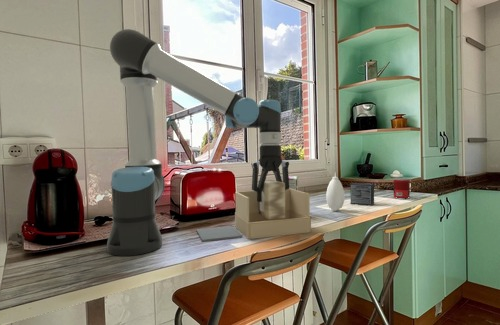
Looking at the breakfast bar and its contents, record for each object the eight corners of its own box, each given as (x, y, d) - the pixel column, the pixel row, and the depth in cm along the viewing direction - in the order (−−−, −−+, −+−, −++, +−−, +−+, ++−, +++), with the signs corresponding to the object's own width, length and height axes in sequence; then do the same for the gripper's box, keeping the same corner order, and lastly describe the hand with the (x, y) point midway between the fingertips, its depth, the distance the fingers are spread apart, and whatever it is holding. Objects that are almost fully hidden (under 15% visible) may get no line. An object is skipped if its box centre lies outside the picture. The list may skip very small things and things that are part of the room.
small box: (374, 204, 151) (374, 183, 151) (372, 206, 146) (372, 184, 146) (353, 202, 157) (353, 182, 157) (350, 204, 152) (350, 183, 151)
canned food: (412, 199, 164) (412, 179, 164) (397, 199, 164) (397, 179, 164) (405, 196, 172) (405, 177, 171) (391, 196, 172) (391, 177, 172)
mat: (202, 241, 93) (202, 239, 93) (196, 230, 105) (196, 229, 105) (242, 237, 97) (242, 235, 97) (232, 227, 109) (232, 225, 109)
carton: (248, 239, 95) (248, 198, 94) (235, 227, 110) (234, 191, 109) (311, 232, 102) (311, 194, 101) (290, 221, 117) (290, 188, 116)
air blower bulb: (337, 208, 141) (337, 170, 140) (347, 211, 134) (347, 171, 133) (323, 209, 139) (322, 171, 138) (332, 213, 131) (332, 172, 130)
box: (268, 219, 100) (268, 183, 100) (258, 213, 110) (258, 180, 109) (285, 217, 102) (284, 182, 101) (273, 212, 111) (273, 180, 111)
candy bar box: (287, 212, 134) (287, 175, 134) (298, 212, 133) (298, 175, 133) (285, 217, 123) (285, 178, 123) (297, 218, 122) (297, 178, 122)
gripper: (247, 144, 99) (248, 214, 100) (299, 144, 105) (299, 210, 106) (241, 145, 106) (242, 210, 107) (290, 144, 112) (290, 206, 113)
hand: (270, 209), depth 106 cm, fingers closed on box, 6 cm apart
